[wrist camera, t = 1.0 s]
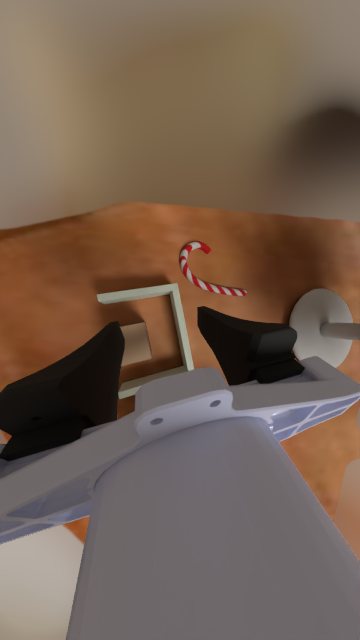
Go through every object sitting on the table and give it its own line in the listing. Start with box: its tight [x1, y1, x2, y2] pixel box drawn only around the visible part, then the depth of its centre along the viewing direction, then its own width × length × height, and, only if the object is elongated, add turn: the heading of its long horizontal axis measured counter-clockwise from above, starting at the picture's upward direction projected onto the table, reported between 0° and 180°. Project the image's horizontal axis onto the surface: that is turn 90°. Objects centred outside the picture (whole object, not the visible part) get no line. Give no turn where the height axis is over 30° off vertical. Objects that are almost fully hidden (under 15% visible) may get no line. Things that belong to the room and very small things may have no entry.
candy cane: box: [180, 242, 247, 296], centre depth 25 cm, size 8×1×15 cm
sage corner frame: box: [97, 283, 194, 399], centre depth 21 cm, size 15×12×3 cm
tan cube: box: [120, 322, 152, 366], centre depth 20 cm, size 5×5×5 cm
